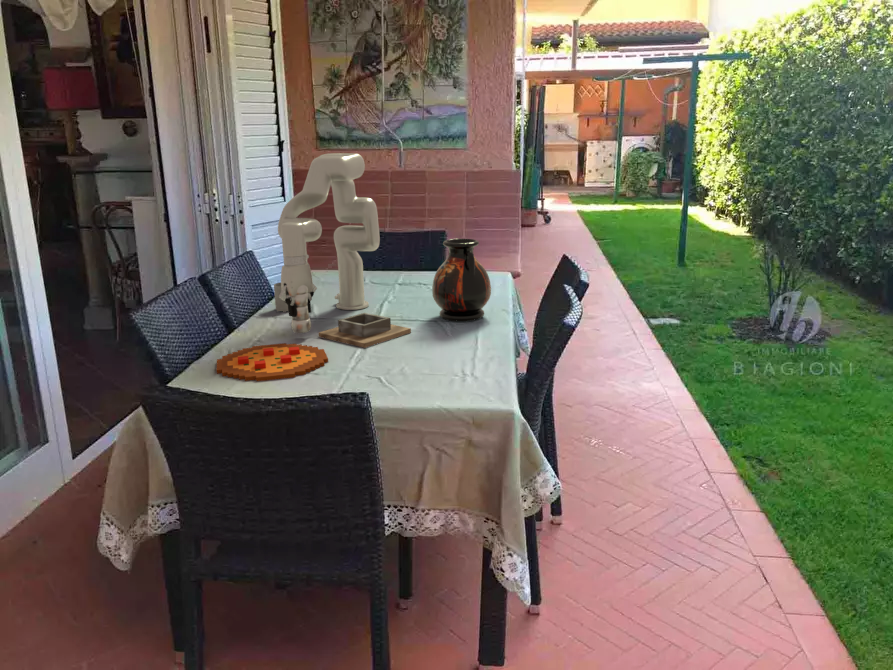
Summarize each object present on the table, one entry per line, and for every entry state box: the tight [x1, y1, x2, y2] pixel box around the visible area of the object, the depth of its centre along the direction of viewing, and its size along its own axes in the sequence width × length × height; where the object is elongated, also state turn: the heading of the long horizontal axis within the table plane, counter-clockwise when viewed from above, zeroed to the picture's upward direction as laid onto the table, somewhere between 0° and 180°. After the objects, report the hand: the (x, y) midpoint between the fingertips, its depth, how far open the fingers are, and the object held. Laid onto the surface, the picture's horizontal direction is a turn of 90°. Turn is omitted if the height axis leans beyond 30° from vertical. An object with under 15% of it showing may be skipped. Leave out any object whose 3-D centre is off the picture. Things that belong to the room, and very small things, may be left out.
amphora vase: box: [431, 238, 492, 323], centre depth 264 cm, size 22×22×28 cm
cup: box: [273, 282, 288, 313], centre depth 282 cm, size 8×8×10 cm
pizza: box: [216, 342, 329, 382], centre depth 219 cm, size 32×32×3 cm
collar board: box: [317, 312, 412, 349], centre depth 246 cm, size 22×22×6 cm
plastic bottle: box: [290, 285, 312, 334], centre depth 240 cm, size 6×7×20 cm
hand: (300, 313), depth 241 cm, fingers closed on plastic bottle, 5 cm apart
